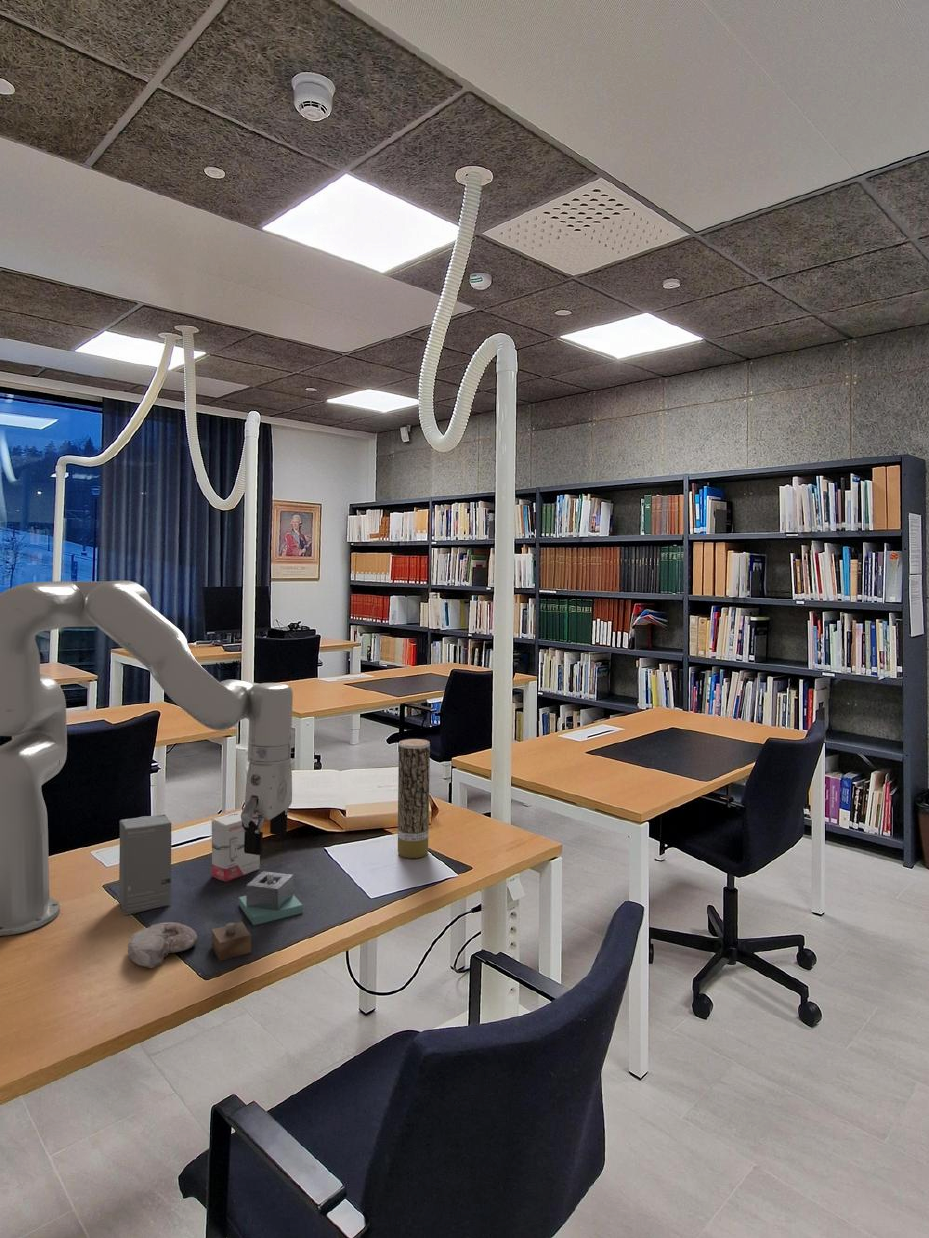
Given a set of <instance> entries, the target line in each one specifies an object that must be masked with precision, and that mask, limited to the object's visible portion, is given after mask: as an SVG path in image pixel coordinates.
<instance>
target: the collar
mask: <svg viewBox="0 0 929 1238" xmlns="http://www.w3.org/2000/svg"><path fill="white" fill-rule="evenodd" d="M269 873H273V874H274V881H276V883H275V884H265V882H266V881H267V874H269ZM245 886H246V888H245V890H246V891H245V892H246V893H245V894H246V895H245V896H246V907H253V908H261V909H269V910H276V911H278V910H279V909H280V908H281V907H282V906H283V905H284V904H285V903H286V902H287V901H288V900H289V899H290V898H291V897H292V896H293V895H294V874H291V873H281V872H273V871H261V872H260V873H259V874H258V875H257V876H255V877H254V878H253V879H252V880H251V881H250V882H248V883H247V884H246V885H245Z"/></svg>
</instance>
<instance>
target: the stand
mask: <svg viewBox="0 0 929 1238" xmlns="http://www.w3.org/2000/svg"><path fill="white" fill-rule="evenodd" d="M211 949H212V951H214V953H215V956H216V958H217V959H218V960H219V961H220V962H221V961H224V960H228V959H229V960H230V959H232V958H235V957H239V956H242V955H243V956H244V955H246V954H250V953H252V935H251V933H250V931H249V930H248V929H247V927H246V926H245V924H244V922H243V921H239V922H236V923H235V922H228V923H227V924H226V925H224V926H221V927H216V928H212V929H211Z"/></svg>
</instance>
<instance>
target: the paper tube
mask: <svg viewBox="0 0 929 1238" xmlns="http://www.w3.org/2000/svg"><path fill="white" fill-rule="evenodd" d="M430 743H431V742H430V741H429V740H427V739H423V738H421V739H420V738H408V739H402V740H400V741H399V742H398V768H397V769H398V770H397V771H398V772H397V773H398V775H397V776H398V779H397V782H398V783H397V784H398V785H397V790H398V791H397V793H398V794H397V853H398V855H399V856H400V857H402V858H405V859H410V858H415V859H420V857H421V858H423V857H425V856H426V855H427V854H428V852H429V833H430V831H429V828H430V827H429V826H430V825H429V824H430V821H429V820H430V816H429V815H430V771H431V770H430V766H431V765H430V760H431V759H430V758H431V744H430Z"/></svg>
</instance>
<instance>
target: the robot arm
mask: <svg viewBox="0 0 929 1238" xmlns="http://www.w3.org/2000/svg"><path fill="white" fill-rule="evenodd" d="M73 627H75V628H76V627H97V628H98V629H100V630H101V632H103V633H105V635H107V637H109V638H110V639H112V641H114V642H115V643H116V644H118V645H119V646H120V647H121V648H122V649H124V651H126V652H127V653H128V654H130V655H131V656H132V657H133V658H134V659H135V660H137V661H138V662H140V664H142V666H144V667H145V668H146V670H148V671H149V673H150V675H151V676H152V678H153V679H154V680H155V681H156V682H157V684H158V685H159V687H160V688H161V689H162V690H163V692H165V694H166V695H167V696H168V697H169V699H171V700H172V702H173V703H175V704H176V705H177V706H179V708H180V709H181V710H183V711H184V712H186V713H187V714H188V715H189V716H191V717H192V718H193V719H194V720H195V721H196V722H198V723H199V724H201V725H202V726H203V727H205V728H208V729H210V730H213V731H222V732H223V731H227V730H230V729H231V728H233V727H235V726H236V725H237V724H239V722H240V721H242V720H244V719H248V737H247V738H248V741H247V743H248V744H247V762H248V768H247V776H246V784H245V794H244V795H245V796H244V808H243V809H242V810H243V811H242V813H241V820H242V827H243V831H244V832H245V837H244V852H245V853H247V854H254V855H262V853H263V841H264V840H263V839H264V836H263V834H264V832H262V828H263V826H264V822H265V820H266V821H269V822H270V823H269V829H270V830H269V833H270V834H272V835H277V836H283V837H285V836H286V835H287V834H288V814H289V811H290V808H289V807H290V806H291V805H292V803H293V772H292V762H291V761H292V760H291V754H292V727H293V726H292V725H293V724H292V723H293V722H292V721H293V699H294V695H293V694H294V693H293V689H292V688H291V687H290V685H288V684H285V683H280V682H262V683H258V682H257V683H256V682H249V681H246V680H239V679H225V680H221V681H219V680H218V679H216V678H215V677H214V676H213V675H211V673H209V672H208V671H207V670H206V669H205V668H204V667H203V665H201V664H200V663H199V662H198V661H197V659H196V658H195V656H194V655H193V654H192V653H193V652H192V651H191V649H190V646H189V643H188V640H187V637H186V636H185V634H184V633H183V632H182V630H180V629H179V628H178V627H177V626H175V625H174V624H173V622H171V621H170V620H169V619H167V618H166V617H165V616H164V615H163V614H161V613H160V612H159V611H158V610H157V609H155V608H154V607H153V606H152V600H151V596H150V595H149V593H148V591H147V590H146V588H144V587H143V586H142V585H140V584H139V583H137V582H135V581H131V580H110V581H108V580H107V581H105V580H104V581H103V580H101V581H95V580H94V581H87V580H86V581H83V580H82V581H81V580H80V581H79V580H77V581H76V580H66V581H63V580H60V581H59V580H58V581H55V580H53V581H35V582H27V583H22V584H19V585H16V586H12V587H10V588H8V589H6V590H4V591H2V592H1V593H0V736H1V737H11V740H9V741H8V742H5V743H4V744H2V745H1V744H0V937H4V936H12V935H19V934H22V933H25V932H29V931H32V930H34V929H35V930H36V929H38V928H40V927H43V926H44V925H46V924H48V923H50V922H51V921H53V920H54V919H55V918H56V917H57V916H58V915H59V914H60V911H61V910H60V903H59V901H58V900H57V899H54V898H52V897H50V867H49V865H50V861H49V828H48V827H49V826H48V823H49V822H48V811H47V806H46V803H45V800H44V796H43V792H42V786H43V785H44V784H45V783H47V782H48V781H50V780H51V779H52V778H54V777H55V776H56V775H58V774H59V773H60V771H61V770H62V769H63V767H64V765H65V763H66V761H67V755H68V754H67V753H68V736H67V735H68V733H67V732H68V731H67V728H68V727H67V703H66V702H67V700H66V696H65V693H64V691H63V689H62V687H61V686H60V684H59V682H57V681H56V680H55V679H54V678H52V677H51V676H48V675H46V674H43V673H41V656H40V651H39V647H38V644H37V641H36V637H37V635H38V634H39V633H42V632H45V631H53V630H58V629H64V628H73ZM253 819H256V820H258V823H257V825H256V824H255V823H254V821H252V820H253Z"/></svg>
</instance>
